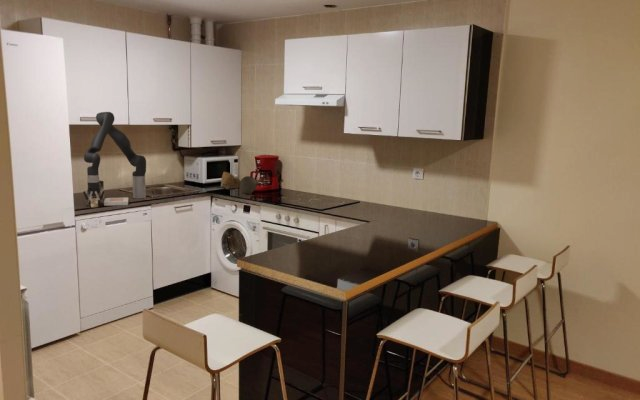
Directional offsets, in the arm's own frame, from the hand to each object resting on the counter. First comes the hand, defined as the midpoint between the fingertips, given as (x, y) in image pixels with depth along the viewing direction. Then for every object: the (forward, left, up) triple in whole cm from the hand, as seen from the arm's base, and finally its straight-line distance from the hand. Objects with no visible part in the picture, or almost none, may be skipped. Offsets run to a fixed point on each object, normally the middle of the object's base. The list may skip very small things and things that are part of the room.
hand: (94, 205), depth 343 cm
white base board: (-14, -10, -1) cm, 17 cm away
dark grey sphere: (-117, -33, -1) cm, 122 cm away
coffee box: (0, -14, -1) cm, 14 cm away
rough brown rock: (-108, -64, -1) cm, 126 cm away
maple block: (0, 0, -1) cm, 1 cm away
